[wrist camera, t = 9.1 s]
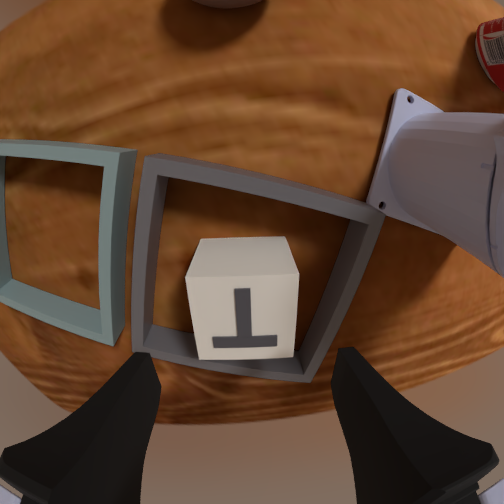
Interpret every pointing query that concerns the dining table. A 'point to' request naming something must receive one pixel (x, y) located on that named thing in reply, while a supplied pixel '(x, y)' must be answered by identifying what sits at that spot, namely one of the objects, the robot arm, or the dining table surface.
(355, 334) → the dining table surface
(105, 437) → the robot arm
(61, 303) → the teal square frame
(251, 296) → the letter cube
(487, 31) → the beverage can
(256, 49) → the dining table surface
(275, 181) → the tray charcoal
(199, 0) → the egg
